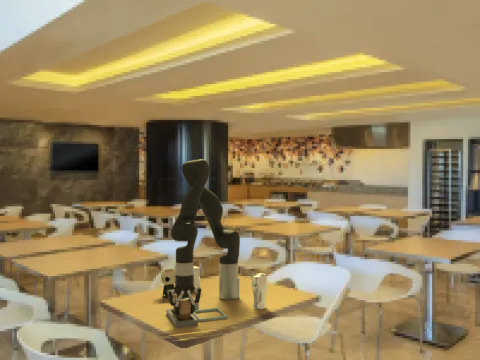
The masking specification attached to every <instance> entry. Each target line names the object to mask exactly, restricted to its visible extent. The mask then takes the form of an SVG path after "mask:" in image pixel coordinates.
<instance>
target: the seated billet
mask: <svg viewBox="0 0 480 360" xmlns="http://www.w3.org/2000/svg"><path fill="white" fill-rule="evenodd" d="M176 296H177V294H176V293H175V294H174V295H173V296H172V298H173V302H175V299H176ZM183 299H185V298H183ZM178 307H179V305H178ZM172 309H173V314H175V313H174V306H172Z"/></svg>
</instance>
